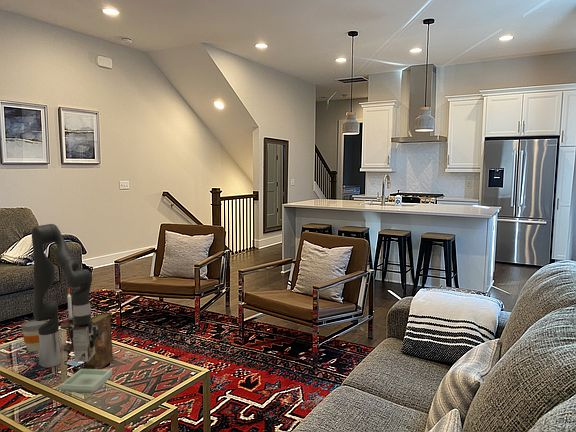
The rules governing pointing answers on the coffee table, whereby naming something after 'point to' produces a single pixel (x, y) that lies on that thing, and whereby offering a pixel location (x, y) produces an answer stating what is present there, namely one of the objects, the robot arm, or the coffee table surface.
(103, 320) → the book
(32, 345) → the reusable coffee cup
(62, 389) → the tray
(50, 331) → the robot arm
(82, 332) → the coffee box
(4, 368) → the coffee table surface
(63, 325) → the candlestick
